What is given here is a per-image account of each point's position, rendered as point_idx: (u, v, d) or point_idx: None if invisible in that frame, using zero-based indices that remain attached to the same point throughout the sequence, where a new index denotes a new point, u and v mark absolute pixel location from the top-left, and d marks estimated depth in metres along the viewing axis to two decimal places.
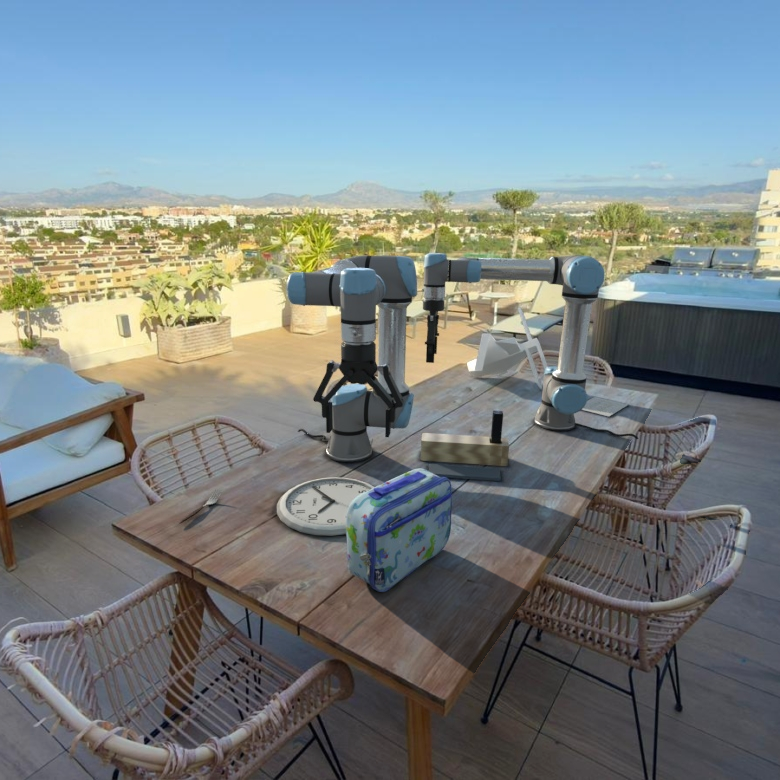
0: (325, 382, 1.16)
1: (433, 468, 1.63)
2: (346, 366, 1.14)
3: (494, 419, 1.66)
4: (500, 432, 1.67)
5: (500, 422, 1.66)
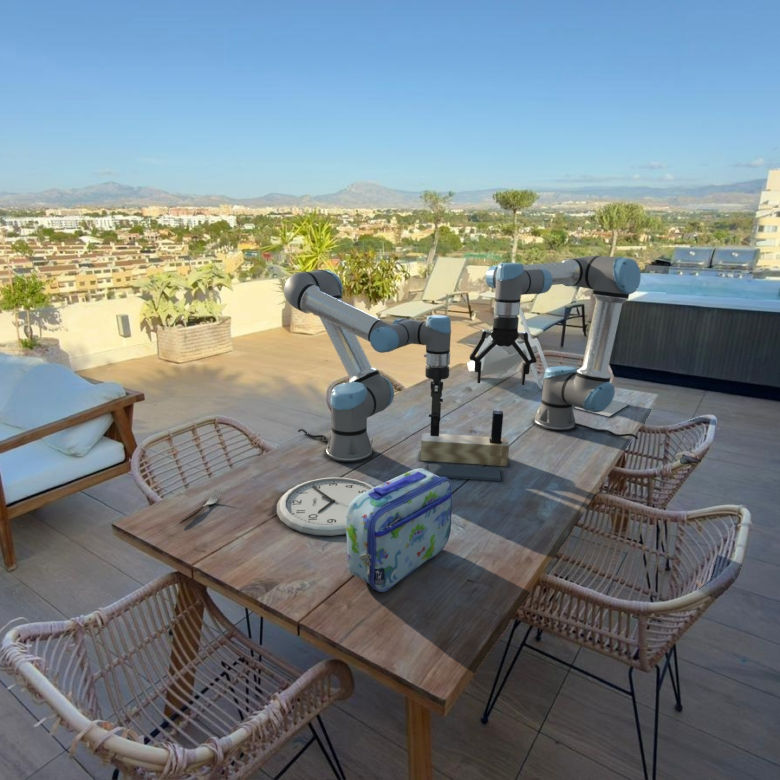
0: None
1: (433, 468, 1.63)
2: None
3: (494, 419, 1.66)
4: (500, 432, 1.67)
5: (500, 422, 1.66)
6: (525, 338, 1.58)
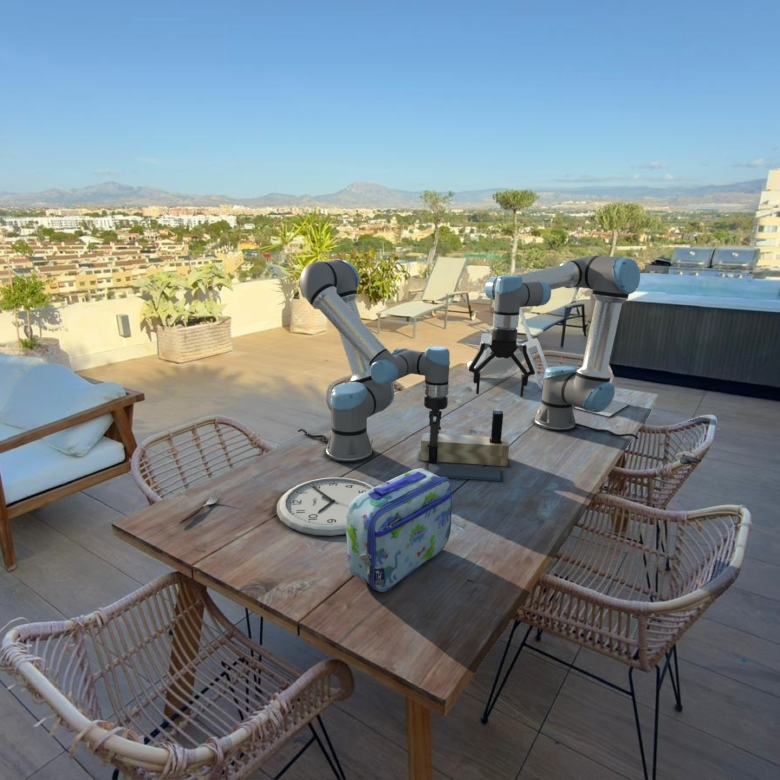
0: None
1: (433, 468, 1.63)
2: None
3: (494, 419, 1.66)
4: (500, 432, 1.67)
5: (500, 422, 1.66)
6: (524, 350, 1.59)
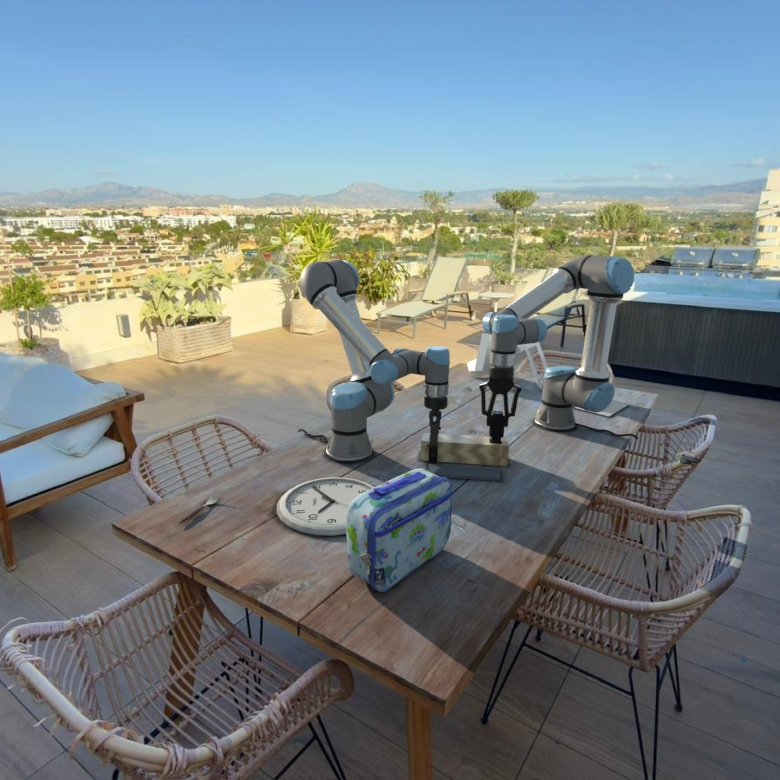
0: None
1: (433, 468, 1.63)
2: None
3: (494, 419, 1.66)
4: (500, 432, 1.67)
5: (500, 422, 1.66)
6: (517, 391, 1.63)
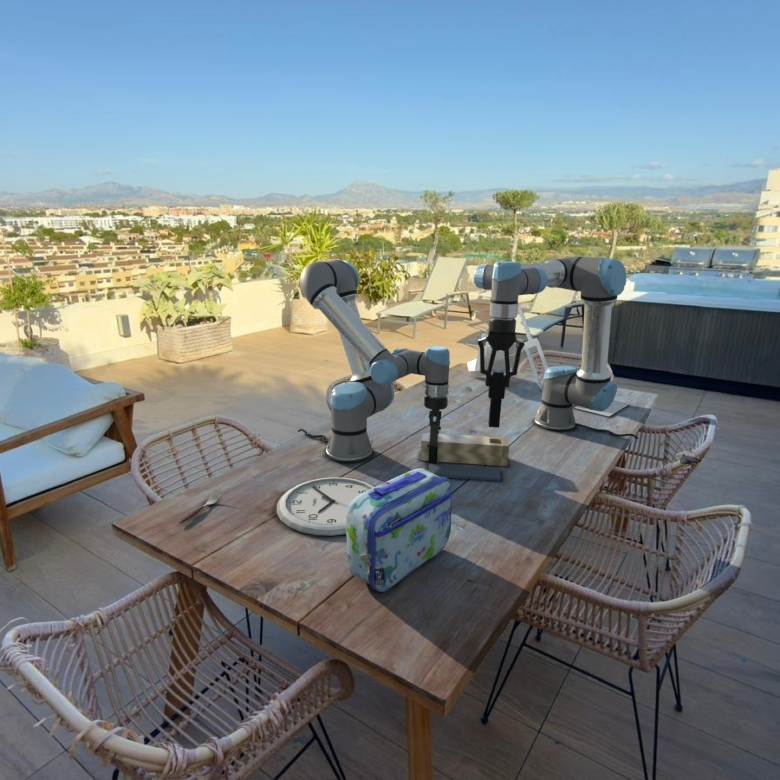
0: None
1: (433, 468, 1.63)
2: None
3: (494, 378, 1.51)
4: (500, 392, 1.52)
5: (500, 382, 1.51)
6: (519, 347, 1.48)
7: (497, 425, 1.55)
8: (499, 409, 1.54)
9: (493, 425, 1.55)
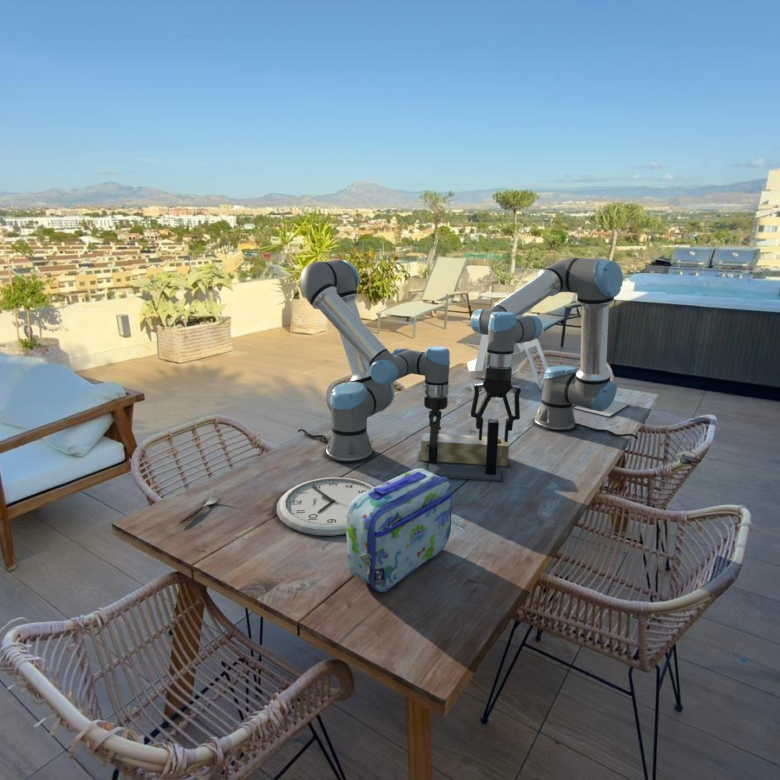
0: None
1: (433, 468, 1.63)
2: None
3: (489, 428, 1.56)
4: (496, 441, 1.57)
5: (496, 431, 1.56)
6: (517, 393, 1.52)
7: (494, 472, 1.60)
8: (495, 457, 1.58)
9: (490, 472, 1.60)
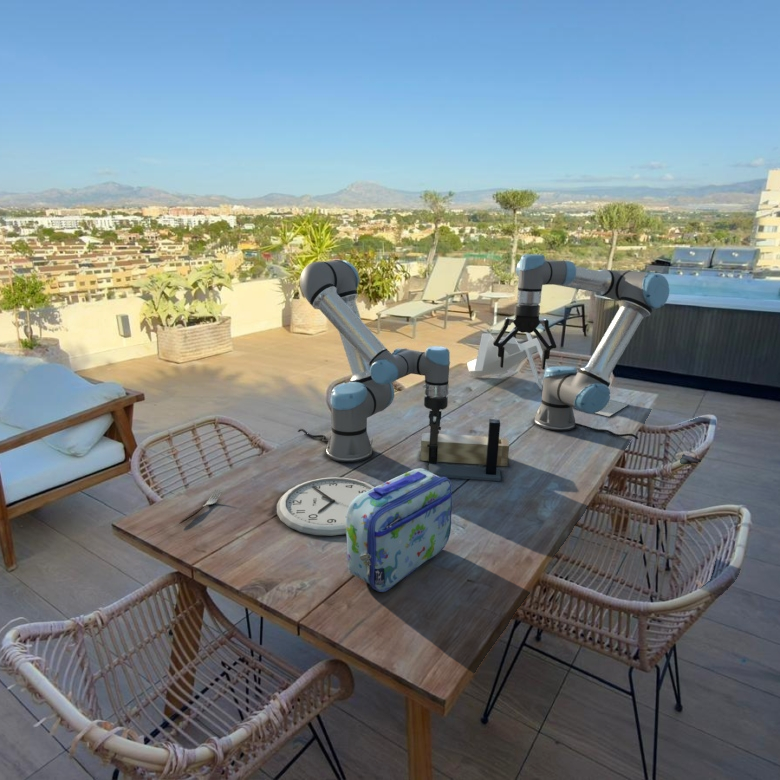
0: None
1: (433, 468, 1.63)
2: None
3: (490, 428, 1.56)
4: (497, 442, 1.57)
5: (497, 431, 1.56)
6: (546, 325, 1.69)
7: (494, 472, 1.60)
8: (496, 457, 1.58)
9: (490, 472, 1.60)
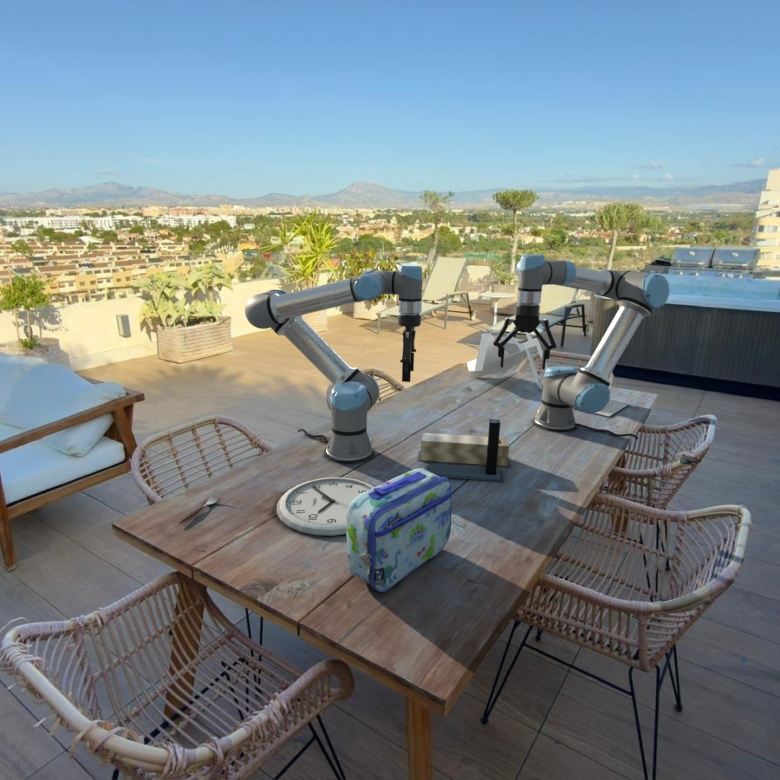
0: None
1: (433, 468, 1.63)
2: None
3: (490, 428, 1.56)
4: (497, 442, 1.57)
5: (497, 431, 1.56)
6: (546, 325, 1.69)
7: (494, 472, 1.60)
8: (496, 457, 1.58)
9: (490, 472, 1.60)
